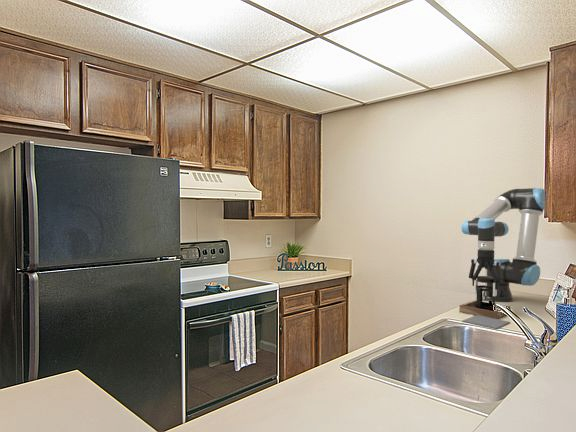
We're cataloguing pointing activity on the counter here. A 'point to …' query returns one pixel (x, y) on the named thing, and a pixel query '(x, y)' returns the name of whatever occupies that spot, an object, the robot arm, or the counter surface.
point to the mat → (486, 322)
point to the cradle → (479, 310)
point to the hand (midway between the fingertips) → (485, 294)
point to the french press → (480, 292)
